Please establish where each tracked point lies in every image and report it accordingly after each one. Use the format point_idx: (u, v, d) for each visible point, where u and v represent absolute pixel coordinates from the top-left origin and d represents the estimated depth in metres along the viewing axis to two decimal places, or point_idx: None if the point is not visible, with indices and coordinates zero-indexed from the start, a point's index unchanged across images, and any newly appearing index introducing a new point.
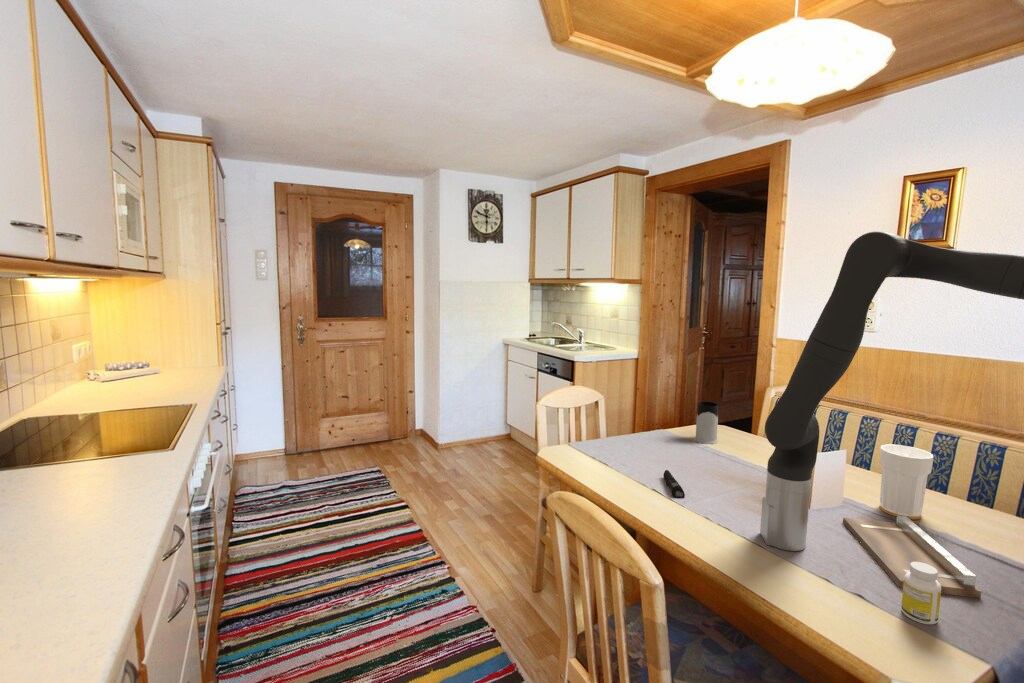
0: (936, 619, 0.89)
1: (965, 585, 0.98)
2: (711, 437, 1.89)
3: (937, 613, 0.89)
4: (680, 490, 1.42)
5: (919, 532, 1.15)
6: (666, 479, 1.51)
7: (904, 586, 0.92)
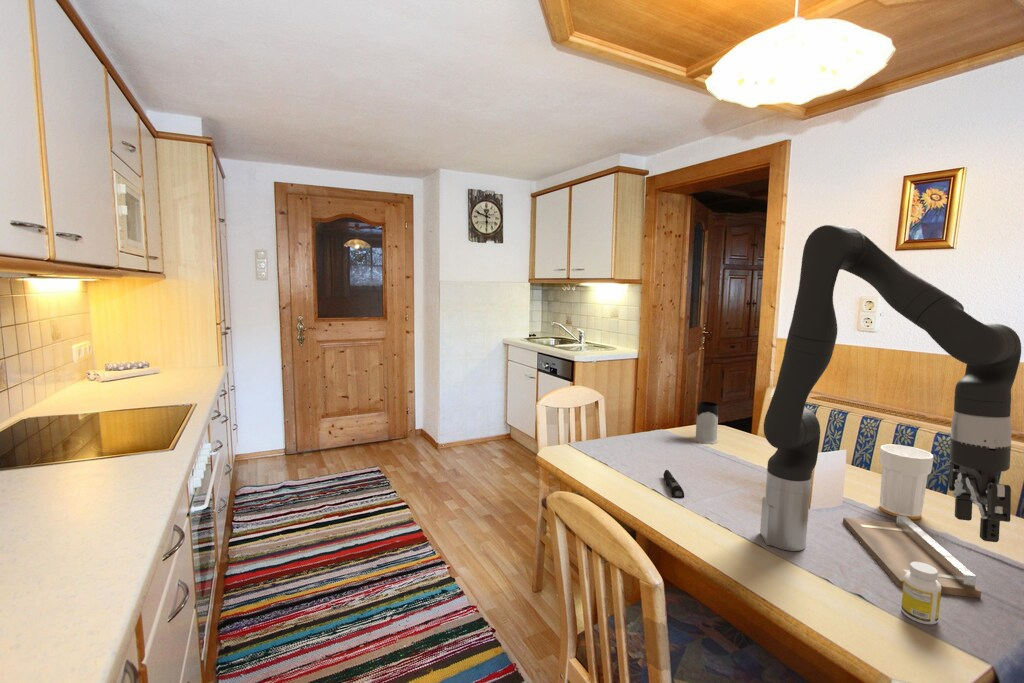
0: (936, 619, 0.89)
1: (965, 585, 0.98)
2: (711, 437, 1.89)
3: (937, 613, 0.89)
4: (680, 490, 1.42)
5: (919, 532, 1.15)
6: (666, 479, 1.51)
7: (904, 586, 0.92)
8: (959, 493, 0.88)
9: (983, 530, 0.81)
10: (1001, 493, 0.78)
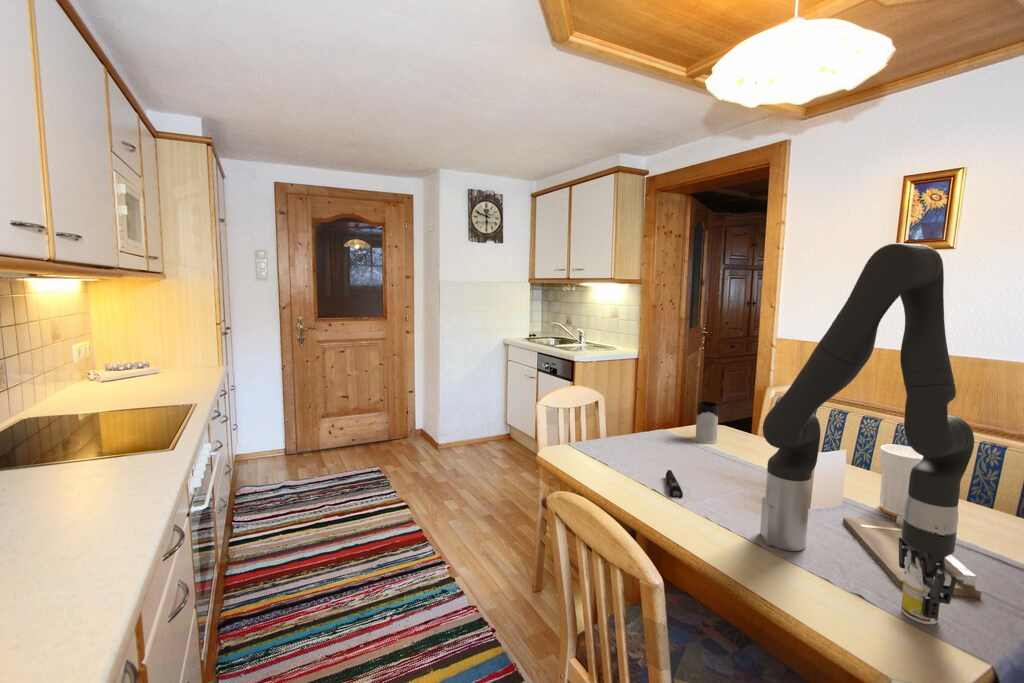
0: (936, 619, 0.89)
1: (965, 585, 0.98)
2: (711, 437, 1.89)
3: None
4: (678, 490, 1.42)
5: None
6: (667, 479, 1.52)
7: (904, 586, 0.92)
8: (909, 571, 0.94)
9: (925, 608, 0.88)
10: (947, 583, 0.84)
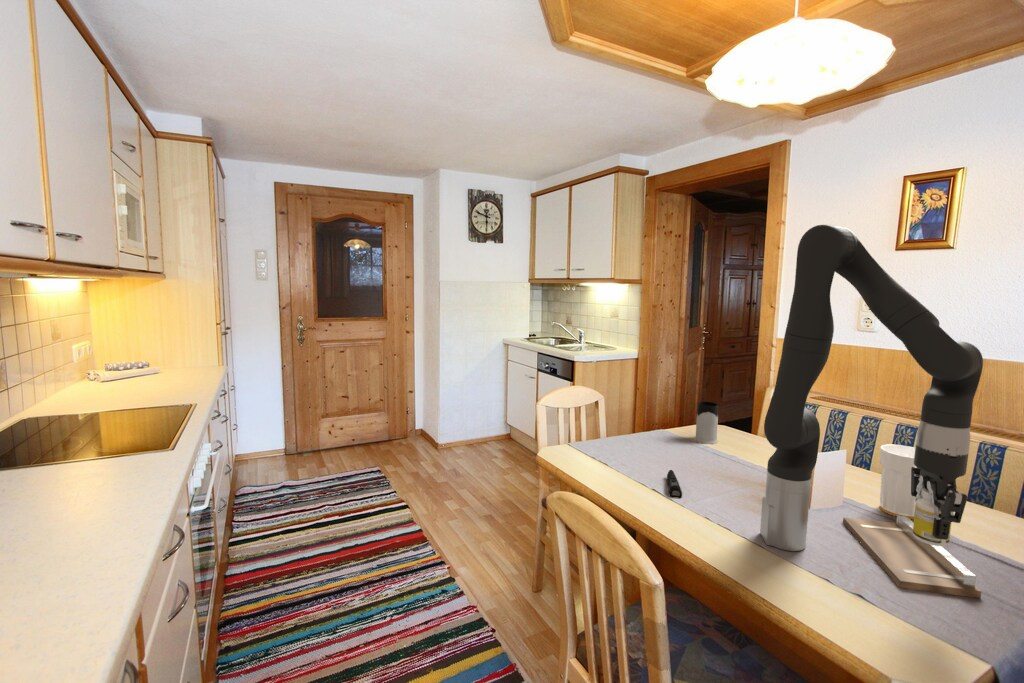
0: (947, 541, 0.91)
1: (965, 585, 0.98)
2: (711, 437, 1.89)
3: None
4: (677, 490, 1.42)
5: None
6: (668, 479, 1.52)
7: (916, 511, 0.94)
8: (921, 497, 0.96)
9: (936, 529, 0.91)
10: (958, 501, 0.86)
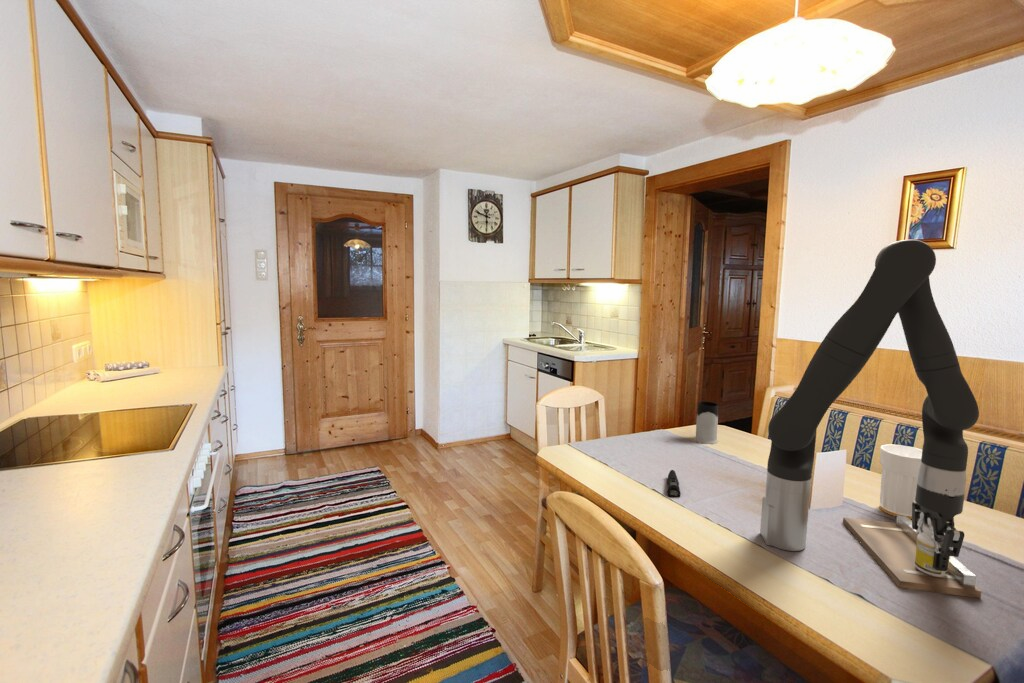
0: (946, 572, 1.01)
1: (965, 585, 0.98)
2: (711, 437, 1.89)
3: None
4: (675, 489, 1.42)
5: None
6: (668, 478, 1.52)
7: (917, 544, 1.03)
8: (921, 531, 1.05)
9: (936, 562, 1.00)
10: (956, 538, 0.95)
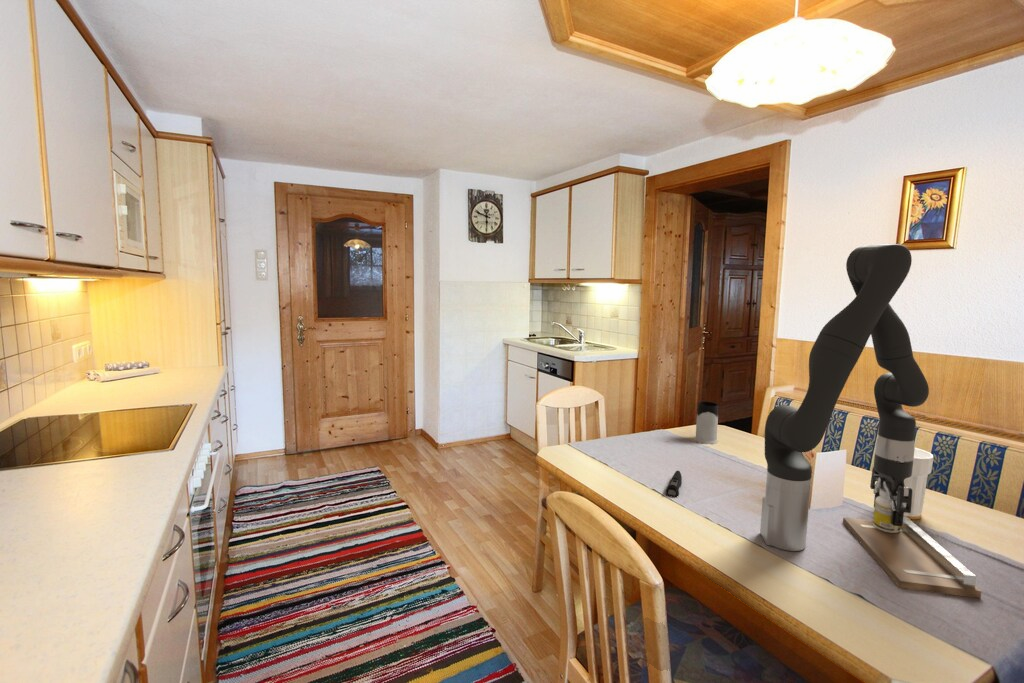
0: (898, 529, 1.19)
1: (965, 585, 0.98)
2: (711, 437, 1.89)
3: None
4: (674, 489, 1.43)
5: (919, 532, 1.15)
6: None
7: (875, 506, 1.22)
8: (877, 491, 1.24)
9: (893, 518, 1.17)
10: (906, 493, 1.13)
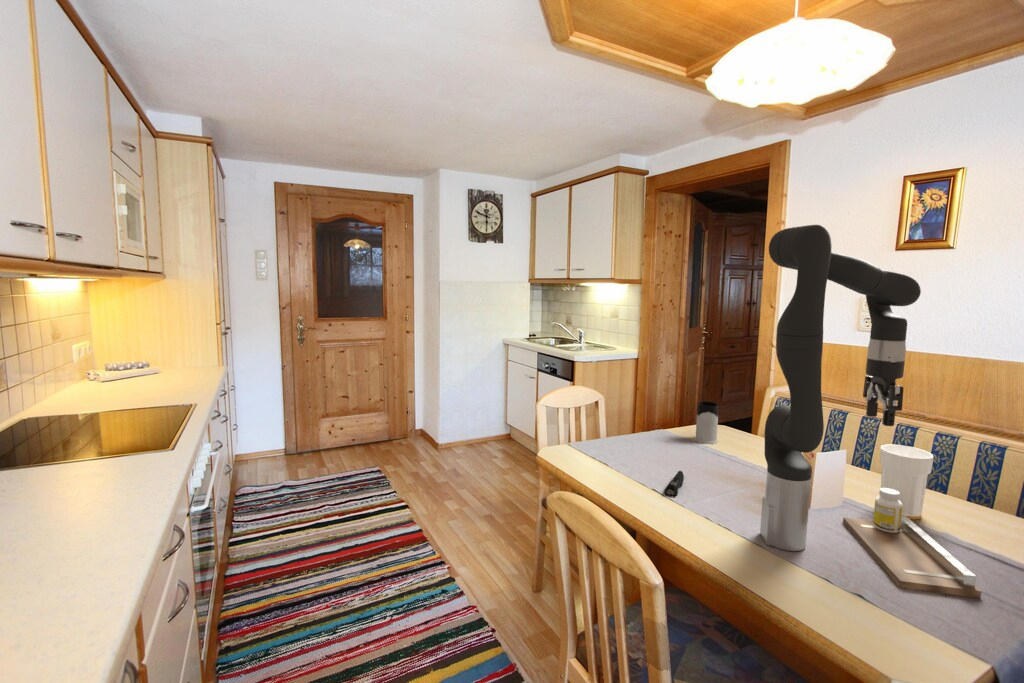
0: (898, 529, 1.19)
1: (965, 585, 0.98)
2: (711, 437, 1.89)
3: (899, 524, 1.19)
4: (672, 489, 1.43)
5: (919, 532, 1.15)
6: None
7: (875, 506, 1.22)
8: (870, 397, 1.25)
9: (884, 418, 1.18)
10: (897, 391, 1.15)
